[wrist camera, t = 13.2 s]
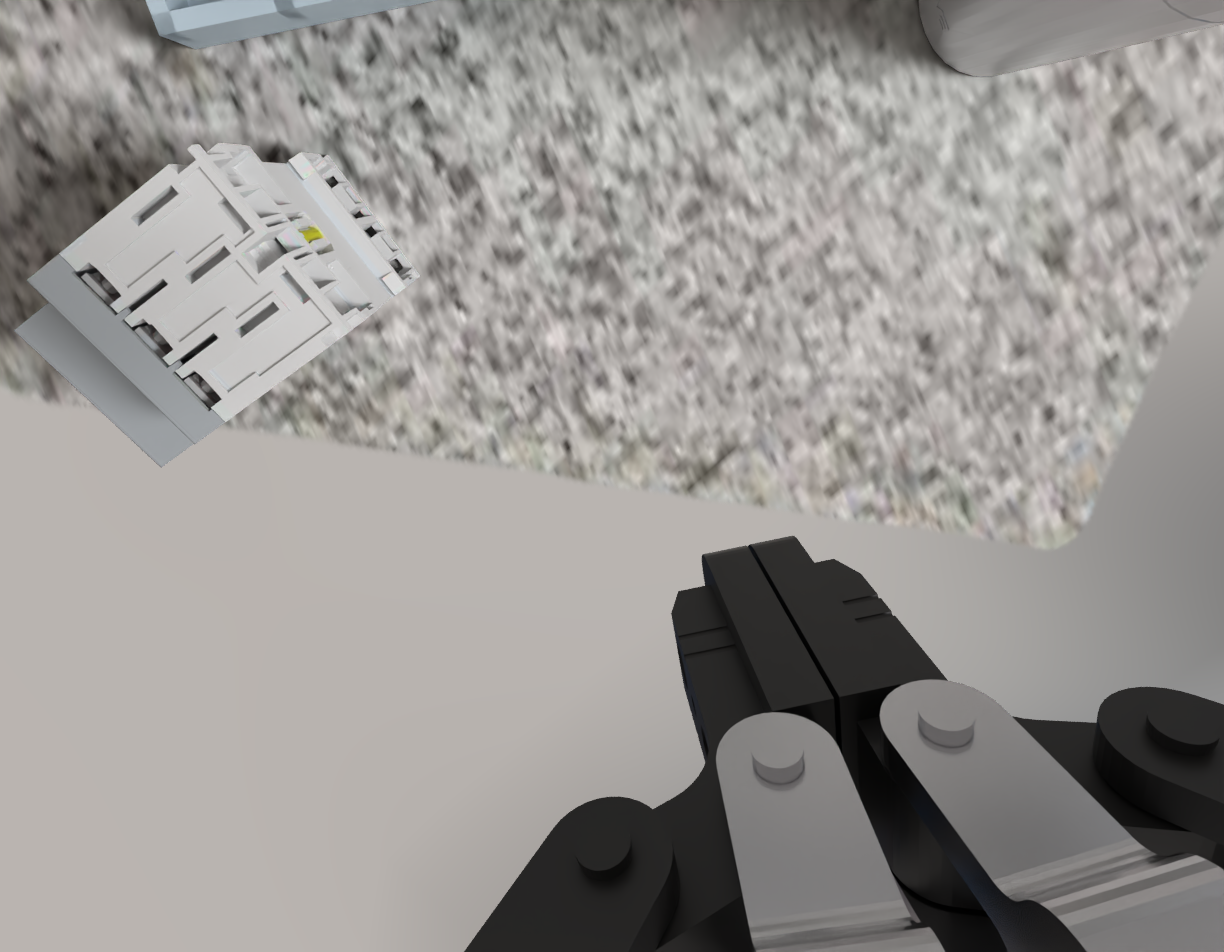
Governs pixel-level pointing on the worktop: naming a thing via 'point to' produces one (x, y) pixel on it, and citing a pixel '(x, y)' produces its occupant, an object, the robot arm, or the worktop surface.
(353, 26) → the worktop surface
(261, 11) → the rack
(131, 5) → the worktop surface
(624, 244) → the worktop surface
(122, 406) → the circuit breaker
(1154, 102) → the worktop surface
